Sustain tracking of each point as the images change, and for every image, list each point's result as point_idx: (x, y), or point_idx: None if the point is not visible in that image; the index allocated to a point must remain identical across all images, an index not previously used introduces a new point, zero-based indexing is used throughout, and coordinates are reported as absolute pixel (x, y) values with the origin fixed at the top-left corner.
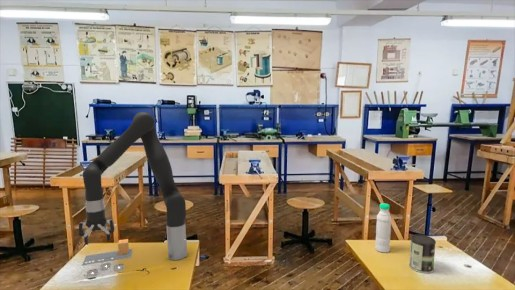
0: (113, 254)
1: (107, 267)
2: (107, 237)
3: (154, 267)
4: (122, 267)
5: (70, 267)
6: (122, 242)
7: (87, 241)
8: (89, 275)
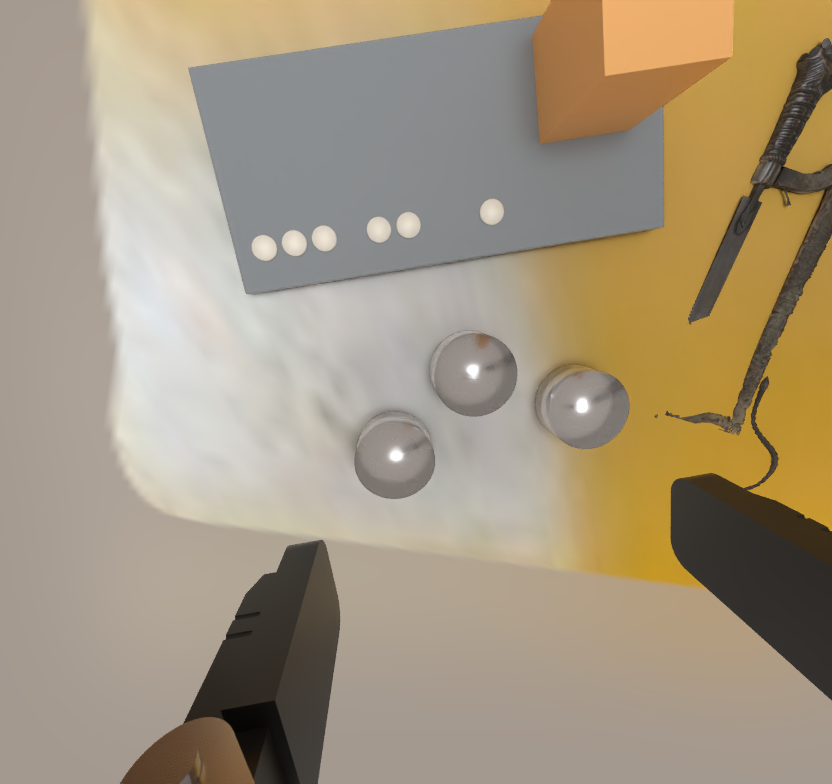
0: (483, 114)
1: (497, 407)
2: (777, 634)
3: (815, 398)
4: (617, 429)
5: (139, 265)
6: (662, 30)
7: (328, 682)
8: (386, 493)
